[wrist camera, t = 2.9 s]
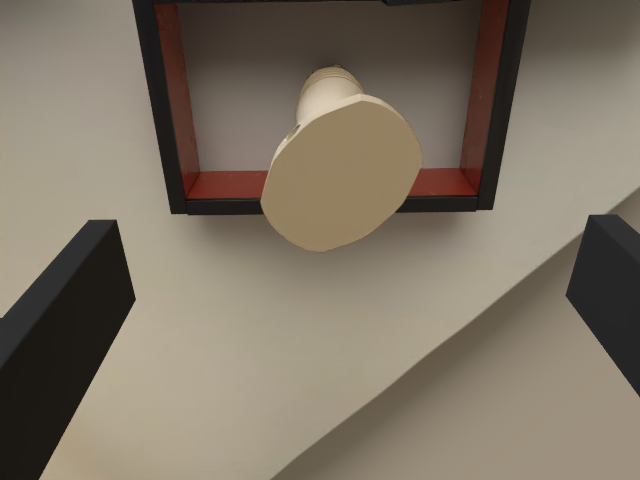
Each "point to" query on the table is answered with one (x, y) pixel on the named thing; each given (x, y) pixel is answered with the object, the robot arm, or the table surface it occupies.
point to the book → (413, 2)
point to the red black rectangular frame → (247, 186)
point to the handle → (339, 164)
